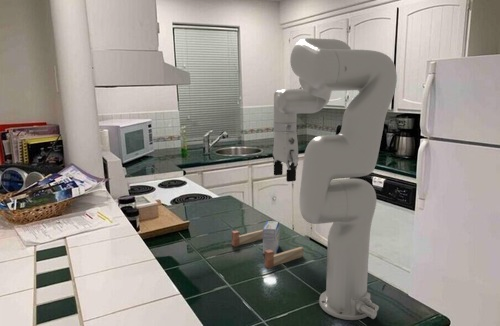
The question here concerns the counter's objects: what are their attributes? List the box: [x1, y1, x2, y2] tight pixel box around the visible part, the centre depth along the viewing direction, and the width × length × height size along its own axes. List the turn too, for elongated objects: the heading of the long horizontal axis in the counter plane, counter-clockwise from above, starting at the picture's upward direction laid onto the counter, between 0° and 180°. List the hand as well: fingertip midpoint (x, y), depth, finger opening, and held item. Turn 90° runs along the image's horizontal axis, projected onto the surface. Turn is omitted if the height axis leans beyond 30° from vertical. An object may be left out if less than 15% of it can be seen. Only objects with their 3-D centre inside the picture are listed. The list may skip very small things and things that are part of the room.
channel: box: [231, 229, 304, 270], centre depth 121 cm, size 21×14×5 cm, turn 34°
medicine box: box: [262, 220, 280, 255], centre depth 122 cm, size 8×4×9 cm, turn 168°
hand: (284, 177), depth 125 cm, fingers open, 9 cm apart
